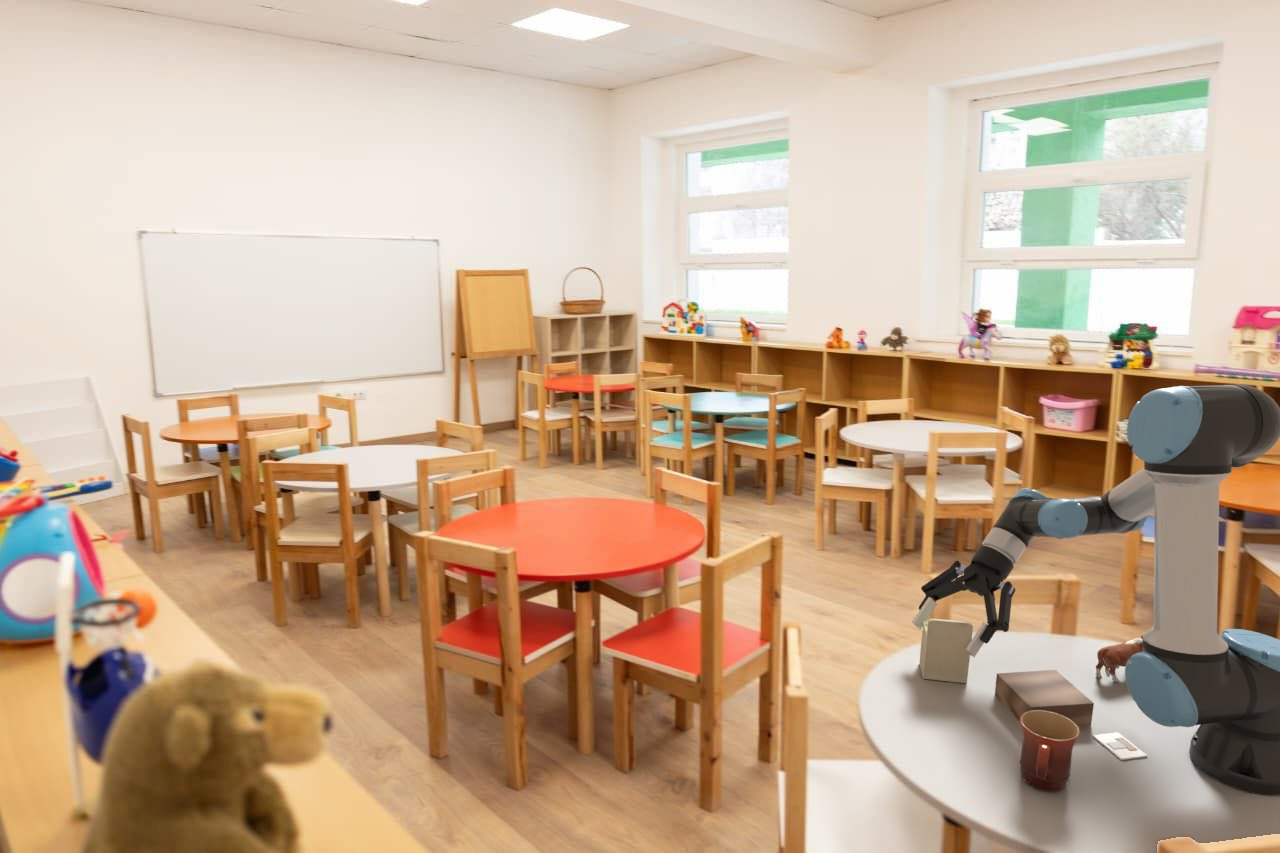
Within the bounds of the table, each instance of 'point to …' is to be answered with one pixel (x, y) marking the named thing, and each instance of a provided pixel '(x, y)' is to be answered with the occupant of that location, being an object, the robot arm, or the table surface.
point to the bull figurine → (1117, 656)
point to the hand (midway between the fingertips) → (942, 639)
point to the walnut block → (1043, 695)
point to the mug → (1047, 749)
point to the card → (1119, 746)
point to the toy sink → (945, 650)
